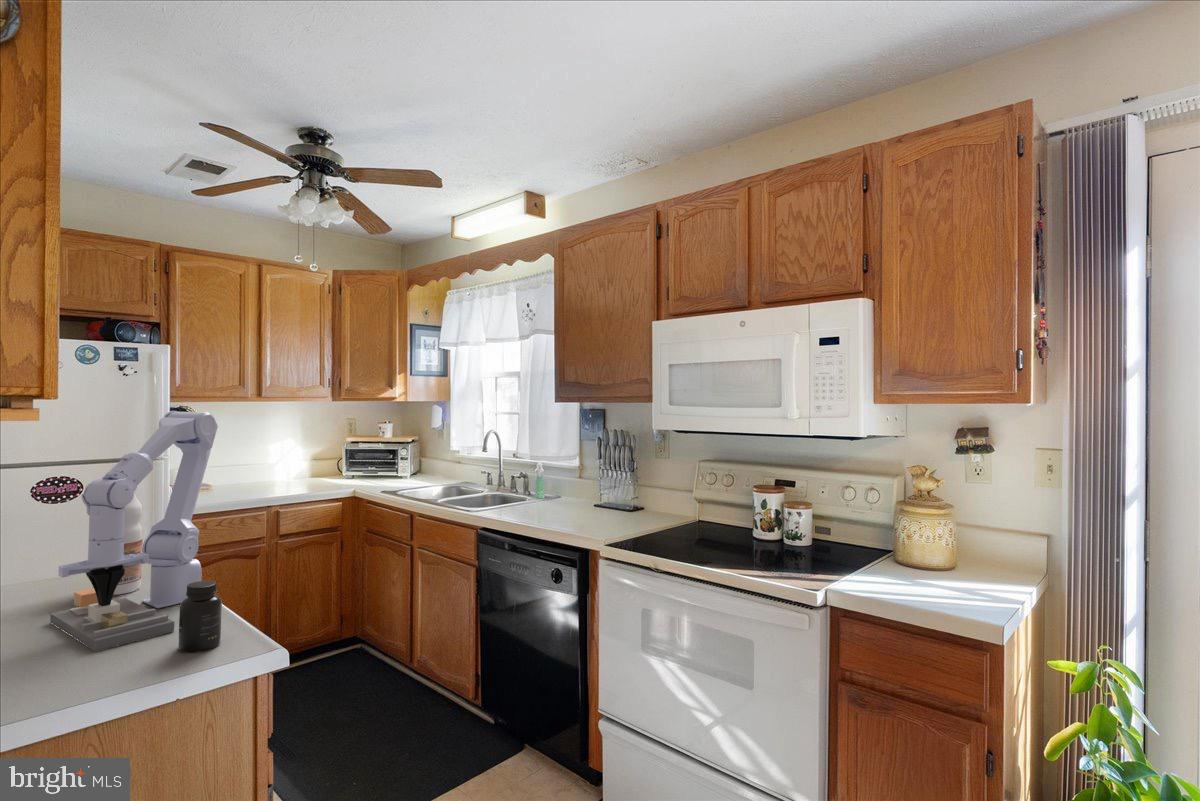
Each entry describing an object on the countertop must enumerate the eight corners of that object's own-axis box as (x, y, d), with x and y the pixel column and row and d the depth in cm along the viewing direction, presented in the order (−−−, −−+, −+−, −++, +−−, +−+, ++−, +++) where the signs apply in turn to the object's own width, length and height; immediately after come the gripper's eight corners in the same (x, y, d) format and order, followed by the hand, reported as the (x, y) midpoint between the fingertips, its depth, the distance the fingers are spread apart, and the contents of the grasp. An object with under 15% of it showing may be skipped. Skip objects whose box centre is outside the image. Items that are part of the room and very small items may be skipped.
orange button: (97, 599, 134) (97, 587, 134) (104, 602, 132) (104, 591, 132) (73, 603, 131) (74, 591, 131) (80, 607, 129) (81, 595, 129)
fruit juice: (82, 597, 145) (86, 476, 145) (105, 585, 154) (108, 472, 154) (129, 595, 147) (133, 477, 147) (148, 584, 156) (152, 472, 156)
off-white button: (111, 612, 130) (112, 600, 130) (119, 616, 128) (120, 603, 128) (88, 617, 126) (88, 604, 126) (95, 621, 124) (96, 609, 124)
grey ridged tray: (125, 607, 139) (125, 593, 139) (174, 631, 126) (174, 616, 126) (50, 623, 129) (50, 608, 129) (95, 651, 115) (95, 635, 115)
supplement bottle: (169, 650, 117) (171, 586, 117) (203, 637, 123) (205, 576, 123) (195, 656, 115) (197, 590, 115) (229, 643, 121) (231, 581, 121)
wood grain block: (118, 622, 124) (119, 610, 124) (127, 627, 122) (127, 614, 122) (100, 626, 122) (101, 614, 122) (108, 631, 119) (109, 619, 119)
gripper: (139, 530, 135) (137, 592, 135) (54, 541, 123) (51, 610, 123) (154, 534, 131) (151, 599, 131) (67, 546, 119) (64, 617, 119)
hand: (104, 605), depth 127 cm, fingers closed, pressing on off-white button
